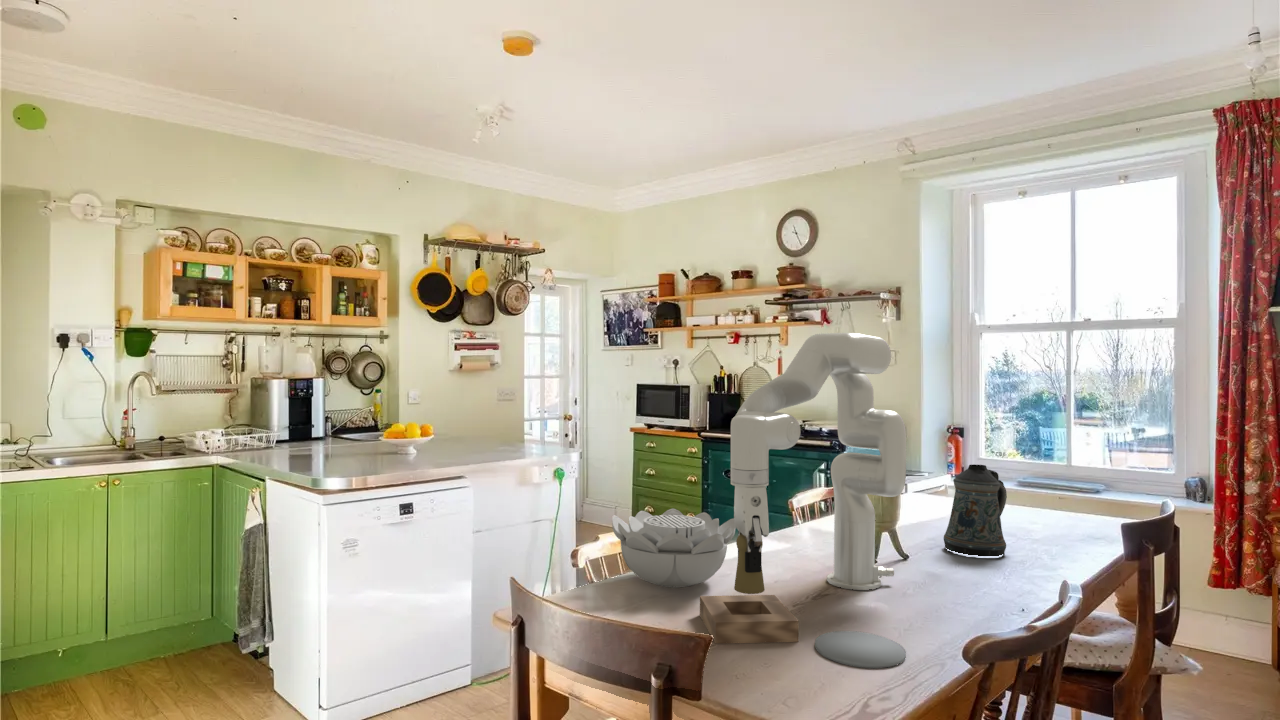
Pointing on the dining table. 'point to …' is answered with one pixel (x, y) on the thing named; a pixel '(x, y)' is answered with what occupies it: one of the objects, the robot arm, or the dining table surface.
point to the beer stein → (977, 513)
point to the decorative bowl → (673, 546)
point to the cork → (744, 580)
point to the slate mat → (860, 649)
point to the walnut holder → (748, 619)
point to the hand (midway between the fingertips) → (749, 566)
